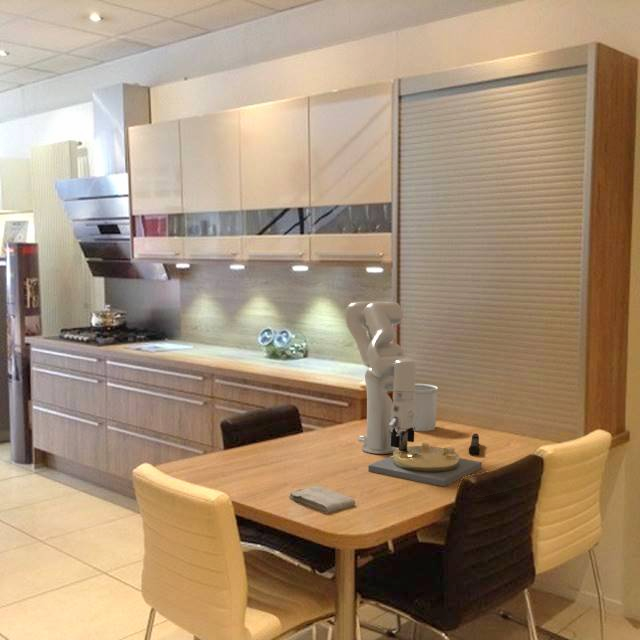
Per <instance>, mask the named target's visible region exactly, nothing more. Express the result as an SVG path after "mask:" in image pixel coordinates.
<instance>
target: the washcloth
mask: <svg viewBox="0 0 640 640" xmlns="http://www.w3.org/2000/svg"><path fill="white" fill-rule="evenodd" d="M288 498H289V499H290V500H292V501H294V502H295V503H298V504H299V505H300V504H301V505H303V506H306V507H308V508H311V509H314V510H316V511H318V512H320V513H324V514H329V513H333V512H336V511H339V510H344V509H346V508H347V509H348V508H350V507H354V506H355V505H356V500H355V499H354V498H352V497H349V496H347V495H344V494H342V493H340V492H337V491H334V490H332V489H329V488H327V487H323V486H321V485H313V486H311V487H308V488H301V489H296V490H294V491H291V492H289V495H288Z"/></svg>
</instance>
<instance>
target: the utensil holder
mask: <svg viewBox="0 0 640 640" xmlns="http://www.w3.org/2000/svg"><path fill="white" fill-rule="evenodd" d="M438 391H439V388H438V386H436V385H433V384H426V383H415V401H416V416H417V421H416V425H415V430H414V432H431V431H434V430H435V429H436V423H437V422H436V421H437V405H438V404H437V403H438ZM430 430H431V431H430Z"/></svg>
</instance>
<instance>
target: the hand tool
mask: <svg viewBox="0 0 640 640" xmlns="http://www.w3.org/2000/svg"><path fill="white" fill-rule="evenodd" d="M480 444H481V443H480V437H479V434H478V433H476V432H475V433H473V434H472V436H471V441H470V446H469V447H468V454H469V456H474V455H477V456H479V455H480V452H481V447H480V446H481V445H480Z"/></svg>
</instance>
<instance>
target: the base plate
mask: <svg viewBox="0 0 640 640" xmlns="http://www.w3.org/2000/svg"><path fill="white" fill-rule="evenodd" d="M482 463H483V462H482V461H478V460H473V459H468V458H461V457H459V466H458V467H457V468H455V469H453V470H449V471H441V472H423V471H414V470H409V469H404V468H401V467H399V466H397V465H395V464H394V463H393V455H390V456H388V457H386V458H383V459H381V460H379V461H375V462H373V463H371V464H368V466H367V467H368V472H370V473H377V474H380V475H385V476H391V477H394V478H401V479H405V480H409V481H413V480H414V481H415V482H418V481H419V483H423V482H424V483H423V484H428V483H429V484H428V485H433V484H434V485H433V486H437V485H439V486H438V487H442V486H445V485H446V486H448V485H450V484H452V483H454V482H456V481H458V480H460V479H462V478H464V477H466V476H468V475H470V474H472V473H474V472H476V471H478V470H480V469H482V468H483V467H482V466H483V465H482ZM465 475H466V476H465ZM463 476H464V477H463ZM461 477H462V478H461ZM459 478H460V479H459ZM457 479H458V480H457ZM455 480H456V481H455ZM453 481H454V482H453ZM451 482H452V483H451ZM449 483H450V484H449ZM447 484H448V485H447ZM446 486H445V487H446Z"/></svg>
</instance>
